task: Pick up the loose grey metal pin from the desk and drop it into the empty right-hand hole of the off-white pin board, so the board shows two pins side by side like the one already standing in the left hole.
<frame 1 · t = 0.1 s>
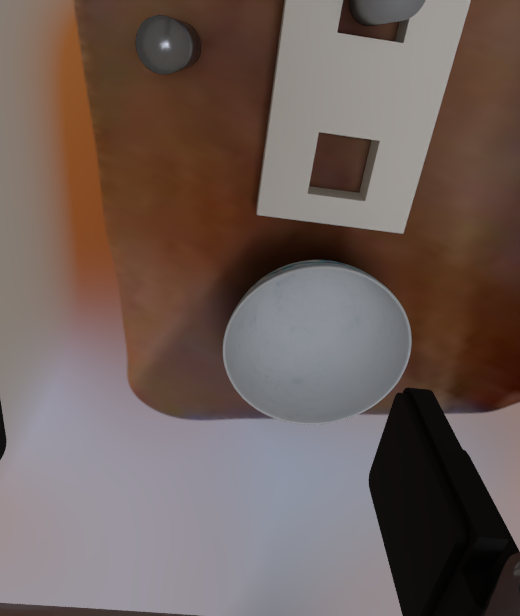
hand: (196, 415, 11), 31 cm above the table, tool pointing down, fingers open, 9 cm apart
pin board: (353, 86, 36), on the table
chinaware: (307, 306, 46), on the table
steel pin: (180, 45, 35), on the table
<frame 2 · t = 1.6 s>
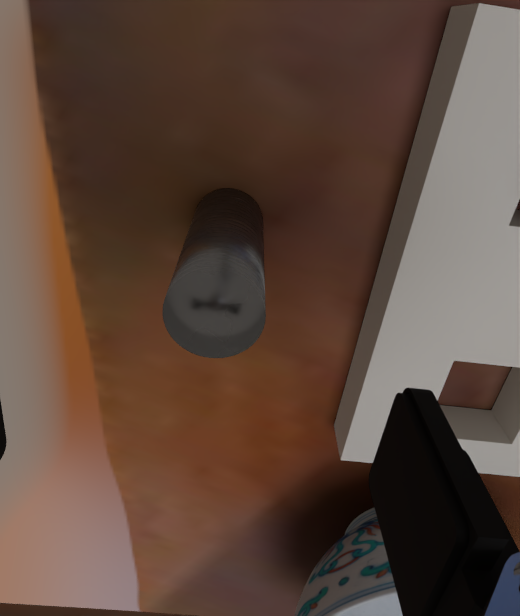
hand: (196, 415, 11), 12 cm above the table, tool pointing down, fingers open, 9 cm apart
pin board: (505, 278, 23), on the table
chinaware: (394, 532, 32), on the table
steel pin: (228, 222, 21), on the table
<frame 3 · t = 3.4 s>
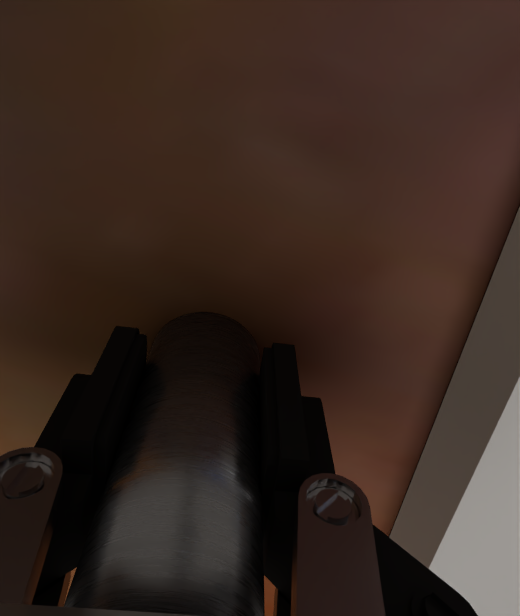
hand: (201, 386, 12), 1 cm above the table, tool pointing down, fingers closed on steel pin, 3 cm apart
steel pin: (205, 359, 13), on the table, touching gripper
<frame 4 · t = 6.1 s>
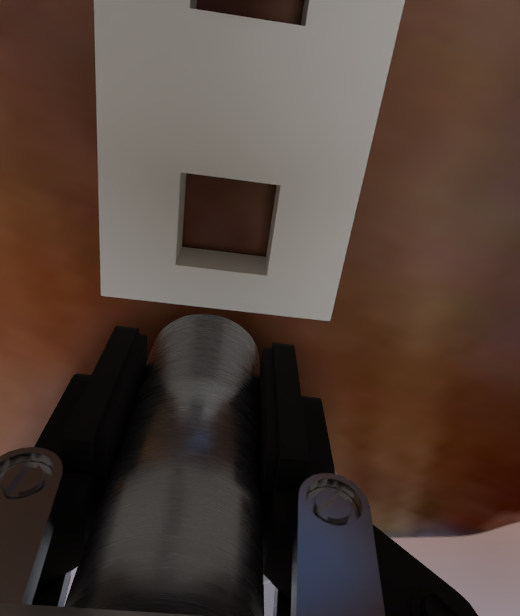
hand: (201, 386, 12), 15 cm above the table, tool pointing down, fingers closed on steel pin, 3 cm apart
pin board: (240, 98, 23), on the table
steel pin: (205, 361, 13), point 14 cm above the table, touching gripper
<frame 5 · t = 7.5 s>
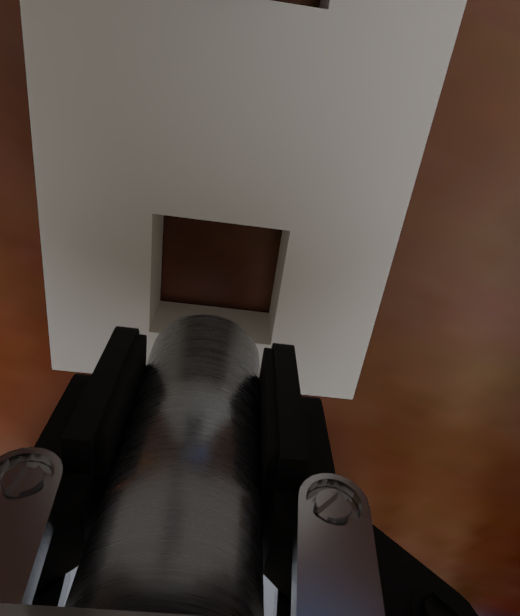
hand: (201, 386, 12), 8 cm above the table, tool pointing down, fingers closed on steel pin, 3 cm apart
pin board: (235, 110, 17), on the table
chinaware: (196, 486, 26), on the table
steel pin: (205, 361, 13), point 7 cm above the table, touching gripper
when the fingers open (4 cm above the table, at t = 8.8 s): steel pin drops 2 cm, resting in pin board.
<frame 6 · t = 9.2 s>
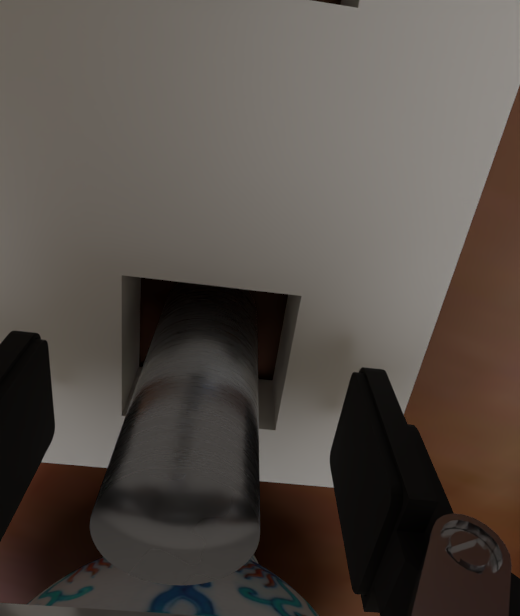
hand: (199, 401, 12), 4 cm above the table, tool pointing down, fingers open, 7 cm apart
pin board: (230, 139, 13), on the table
chinaware: (187, 568, 22), on the table
steel pin: (210, 315, 16), resting in pin board
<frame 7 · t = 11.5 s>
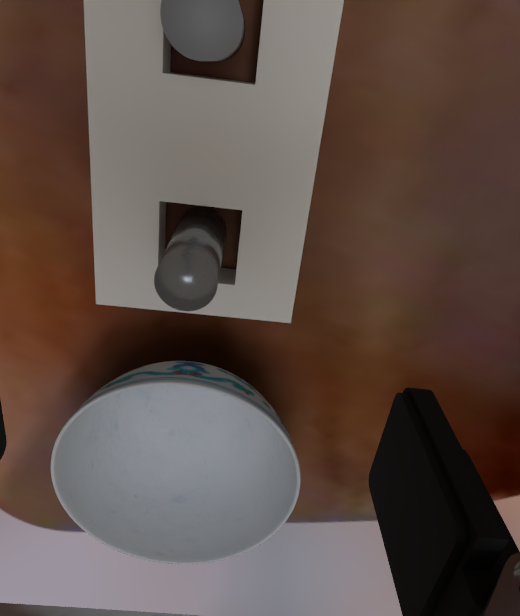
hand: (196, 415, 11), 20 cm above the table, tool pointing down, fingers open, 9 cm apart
pin board: (208, 139, 28), on the table
chinaware: (192, 402, 36), on the table
steel pin: (202, 230, 30), resting in pin board
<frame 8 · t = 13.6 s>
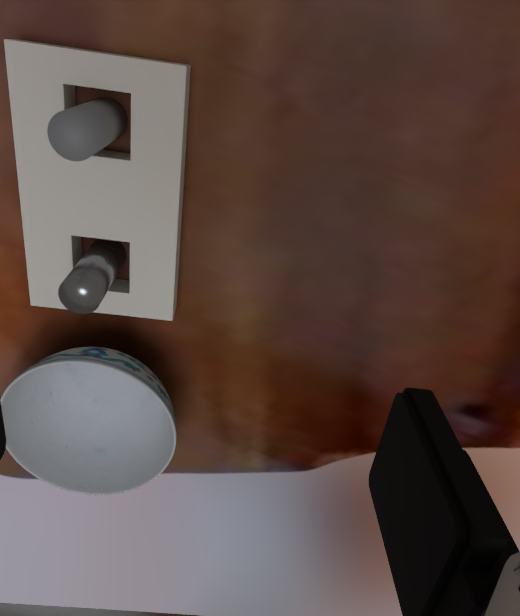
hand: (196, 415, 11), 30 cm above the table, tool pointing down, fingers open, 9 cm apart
pin board: (108, 190, 39), on the table
chinaware: (111, 378, 48), on the table
steel pin: (108, 253, 42), resting in pin board
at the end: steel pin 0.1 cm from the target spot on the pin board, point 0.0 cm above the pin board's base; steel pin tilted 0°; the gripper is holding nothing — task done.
